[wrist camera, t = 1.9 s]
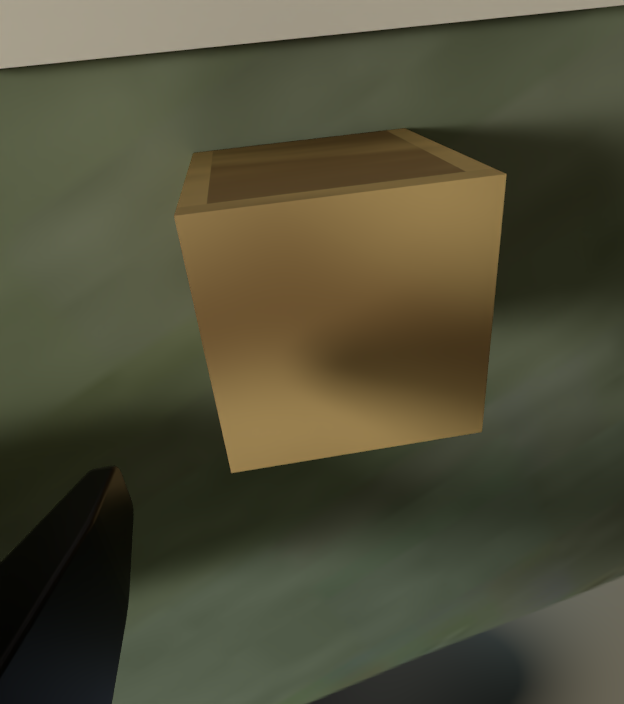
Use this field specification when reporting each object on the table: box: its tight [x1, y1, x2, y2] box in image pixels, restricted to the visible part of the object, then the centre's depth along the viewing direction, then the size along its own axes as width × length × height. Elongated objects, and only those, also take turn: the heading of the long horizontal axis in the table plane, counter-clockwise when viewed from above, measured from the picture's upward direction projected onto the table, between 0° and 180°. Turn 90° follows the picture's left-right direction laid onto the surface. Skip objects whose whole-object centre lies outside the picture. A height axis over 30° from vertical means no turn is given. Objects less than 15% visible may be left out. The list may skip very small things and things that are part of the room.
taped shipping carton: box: [174, 128, 507, 473], centre depth 15 cm, size 7×7×7 cm
